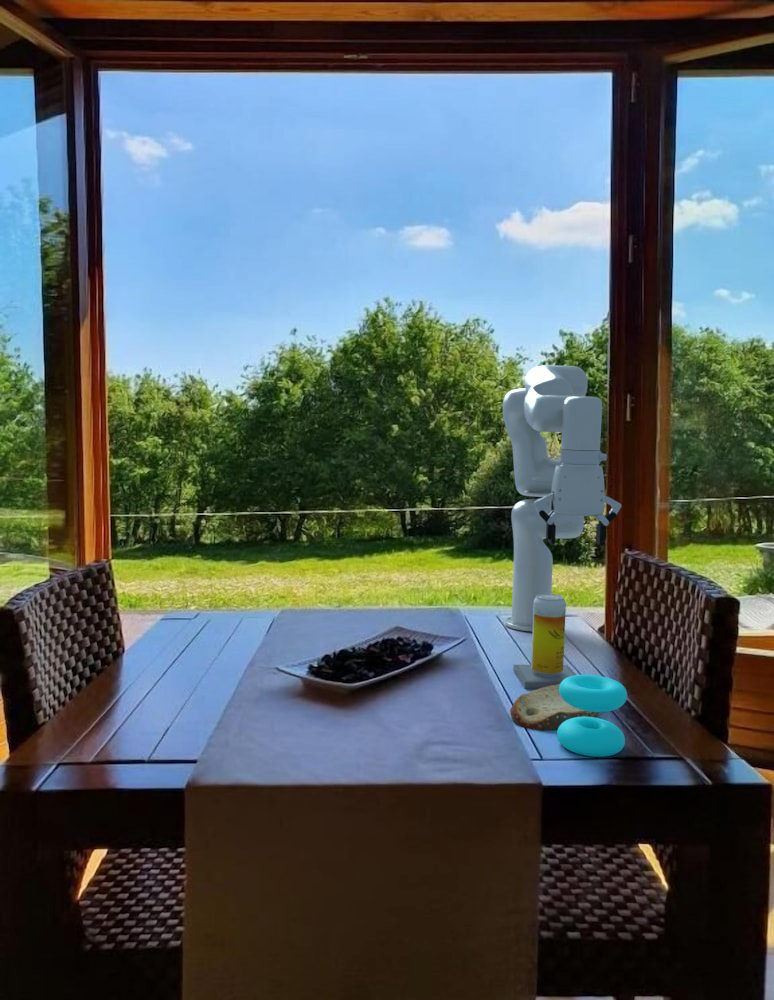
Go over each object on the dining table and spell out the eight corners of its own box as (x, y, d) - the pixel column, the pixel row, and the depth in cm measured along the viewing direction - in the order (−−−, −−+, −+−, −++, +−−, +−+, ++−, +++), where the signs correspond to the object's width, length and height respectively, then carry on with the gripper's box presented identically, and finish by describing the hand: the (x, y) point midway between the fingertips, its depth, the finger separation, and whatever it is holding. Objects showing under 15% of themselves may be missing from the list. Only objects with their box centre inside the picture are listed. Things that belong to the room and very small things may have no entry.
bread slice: (588, 694, 142) (589, 674, 142) (627, 731, 124) (628, 709, 124) (493, 695, 140) (493, 675, 140) (518, 733, 122) (519, 710, 122)
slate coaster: (513, 670, 154) (513, 664, 154) (567, 671, 154) (567, 664, 154) (524, 688, 143) (524, 681, 143) (583, 689, 144) (583, 682, 143)
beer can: (563, 678, 145) (566, 600, 144) (530, 676, 146) (533, 598, 145) (562, 669, 151) (565, 594, 150) (531, 666, 152) (534, 592, 151)
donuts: (641, 685, 115) (597, 697, 109) (638, 750, 116) (594, 765, 110) (589, 668, 123) (545, 678, 117) (586, 729, 124) (543, 742, 118)
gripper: (617, 458, 156) (612, 541, 158) (532, 456, 156) (529, 539, 158) (629, 461, 149) (624, 548, 151) (540, 459, 149) (536, 546, 151)
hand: (575, 543), depth 154 cm, fingers open, 9 cm apart
